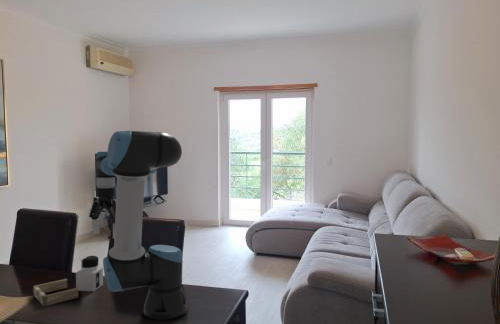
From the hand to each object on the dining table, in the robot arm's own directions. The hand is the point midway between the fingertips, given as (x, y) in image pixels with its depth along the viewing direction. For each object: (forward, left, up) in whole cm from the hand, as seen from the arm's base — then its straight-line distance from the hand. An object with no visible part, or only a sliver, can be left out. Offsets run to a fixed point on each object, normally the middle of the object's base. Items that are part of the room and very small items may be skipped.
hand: (105, 236), depth 159 cm
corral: (-2, +20, -20) cm, 29 cm away
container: (-2, +8, -20) cm, 22 cm away
